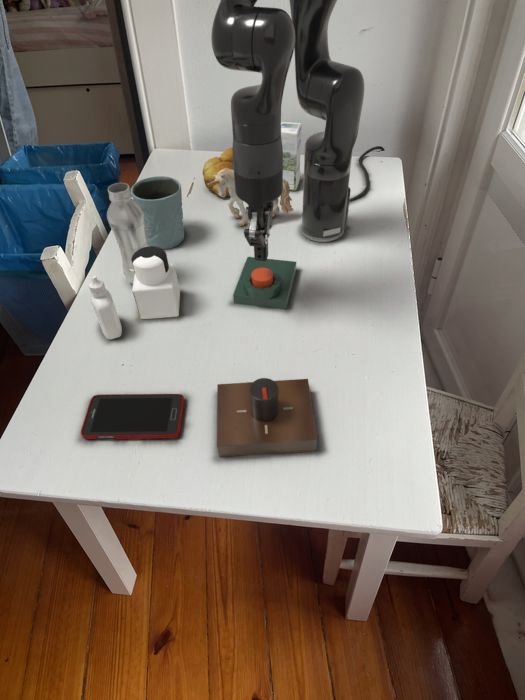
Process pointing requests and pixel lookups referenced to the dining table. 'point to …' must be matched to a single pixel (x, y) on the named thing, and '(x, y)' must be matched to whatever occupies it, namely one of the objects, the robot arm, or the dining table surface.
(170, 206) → the teal plant pot
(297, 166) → the syrup box
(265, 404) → the dial
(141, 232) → the plastic bottle
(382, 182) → the dining table surface
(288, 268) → the button housing
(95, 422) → the cell phone
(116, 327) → the eye dropper bottle
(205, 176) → the bread roll
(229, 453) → the dial panel
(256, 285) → the button
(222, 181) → the unicorn figurine
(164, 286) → the medicine bottle
